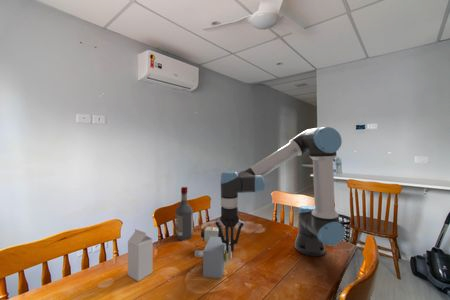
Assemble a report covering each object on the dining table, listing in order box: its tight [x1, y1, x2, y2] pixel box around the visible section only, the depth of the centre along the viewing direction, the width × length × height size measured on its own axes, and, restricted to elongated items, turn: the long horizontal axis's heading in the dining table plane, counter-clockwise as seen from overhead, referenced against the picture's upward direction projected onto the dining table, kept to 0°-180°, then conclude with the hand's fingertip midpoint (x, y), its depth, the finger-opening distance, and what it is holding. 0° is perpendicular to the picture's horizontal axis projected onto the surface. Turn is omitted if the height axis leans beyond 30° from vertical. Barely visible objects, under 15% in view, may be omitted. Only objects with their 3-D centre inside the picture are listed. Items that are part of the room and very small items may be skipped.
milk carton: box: [127, 228, 154, 282], centre depth 89 cm, size 7×7×19 cm
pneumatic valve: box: [200, 226, 225, 243], centre depth 112 cm, size 6×12×12 cm, turn 79°
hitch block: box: [202, 237, 227, 279], centre depth 94 cm, size 8×14×11 cm, turn 171°
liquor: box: [174, 186, 194, 241], centre depth 125 cm, size 9×9×30 cm
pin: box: [194, 249, 230, 263], centre depth 94 cm, size 16×5×5 cm, turn 81°
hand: (230, 258), depth 93 cm, fingers closed
